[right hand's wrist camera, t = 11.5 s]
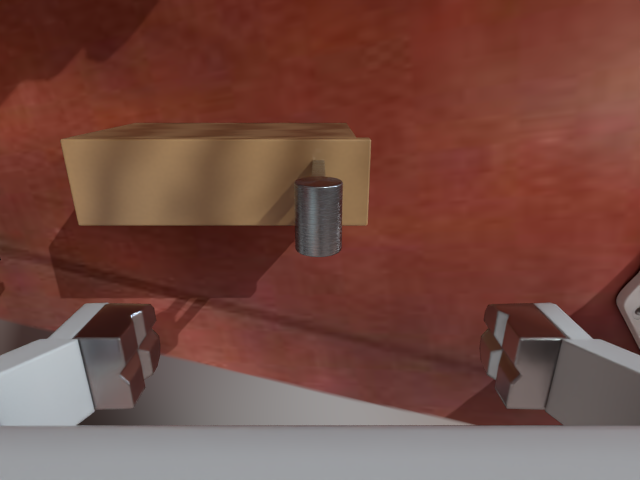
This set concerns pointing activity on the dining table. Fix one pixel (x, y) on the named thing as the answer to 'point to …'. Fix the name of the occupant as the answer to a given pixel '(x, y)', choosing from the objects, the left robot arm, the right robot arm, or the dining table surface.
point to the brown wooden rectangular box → (225, 130)
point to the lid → (223, 184)
